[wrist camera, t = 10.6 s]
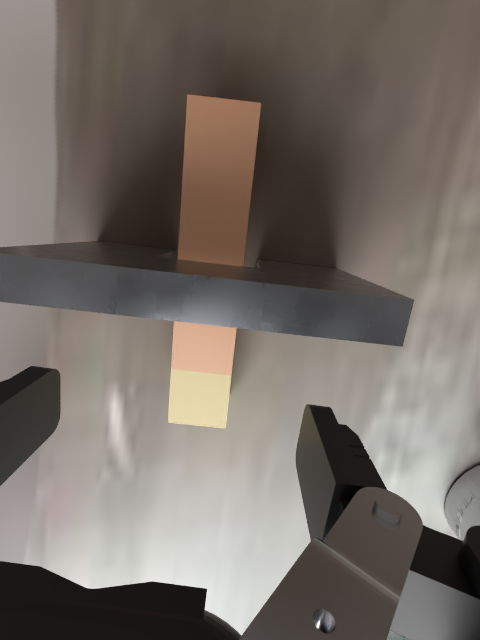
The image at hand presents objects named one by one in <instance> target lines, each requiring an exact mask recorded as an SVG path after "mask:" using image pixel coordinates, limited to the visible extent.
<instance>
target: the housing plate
mask: <svg viewBox="0 0 480 640" xmlns="http://www.w3.org/2000/svg"><path fill="white" fill-rule="evenodd" d="M0 302H8V303H17V304H26V305H36V306H44V307H53V308H62V309H71V310H80V311H89V312H98V313H107V314H116V315H125V316H134V317H142V318H151V319H160V320H169V321H178V322H187V323H196V324H205V325H214V326H223V327H232V328H241V329H250V330H259V331H268V332H277V333H286V334H295V335H304V336H313V337H322V338H331V339H340V340H349V341H358V342H367V343H376V344H385V345H393V346H402V347H403V343H404V338H405V334H406V330H407V326H408V322H409V318H410V314H411V310H412V306H413V302H414V300H413V299H411V298H408V297H406V296H403V295H401V294H398V293H396V292H394V291H391V290H389V289H386V288H384V287H381V286H379V285H376V284H374V283H371V282H369V281H367V280H364V279H362V278H359V277H357V276H354V275H352V274H349V273H347V272H344V271H342V270H339V269H337V268H329V267H321V266H312V265H303V264H294V263H285V262H277V261H268V260H259V259H257V265H256V268H251V267H243V266H234V265H225V264H216V263H207V262H199V261H190V260H181V259H177V250H171V249H162V248H153V247H145V246H136V245H127V244H118V243H109V242H101V241H91V242H75V243H60V244H44V245H28V246H13V247H0Z"/></svg>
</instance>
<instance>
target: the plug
mask: <svg viewBox="0 0 480 640" xmlns="http://www.w3.org/2000/svg"><path fill="white" fill-rule="evenodd" d="M260 110H261V103H258V102H249V101H241V100H232V99H223V98H215V97H206V96H197V95H189V94H187V109H186V126H185V143H184V160H183V177H182V194H181V211H180V228H179V245H178V259H181V260H190V261H199V262H207V263H216V264H225V265H234V266H243V265H244V256H245V247H246V238H247V228H248V219H249V210H250V201H251V192H252V183H253V174H254V165H255V156H256V146H257V137H258V128H259V119H260ZM236 329H237V328H232V327H223V326H214V325H205V324H196V323H187V322H178V321H174V329H173V346H172V363H171V380H170V397H169V414H168V422H169V423H178V424H188V425H197V426H207V427H216V428H225V429H226V420H227V411H228V402H229V393H230V383H231V374H232V365H233V356H234V347H235V338H236Z"/></svg>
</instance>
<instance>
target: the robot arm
mask: <svg viewBox="0 0 480 640" xmlns="http://www.w3.org/2000/svg"><path fill="white" fill-rule="evenodd" d="M59 419H60V373H59V371H58V370H56V369H50V368H43V367H36V366H31V367H29V368H27V369H25V370H24V371H22V372H20V373H19V374H17V375H15V376H13V377H12V378H10V379H8V380H5V381H2V382H0V486H1V485H2V484H3V483H4V482H5V481H6V480H7V479H8V478H9V477H10V476H11V475H12V474H13V473H14V472H15V470H17V468H19V467H20V466H21V465H22V464H23V462H25V461H26V460H27V459H28V457H30V456H31V455H32V454H33V453H34V451H36V450H37V449H38V448H39V447H40V446H41V445H42V444H43V443H44V442H45V441H46V440H47V439H48V438H49V437H50V436H51V435H52V433H53V432H54V431H55V429H56V427H57V425H58V422H59ZM296 468H297V473H298V478H299V483H300V488H301V493H302V498H303V503H304V508H305V513H306V518H307V523H308V528H309V533H310V538H311V542H310V543H309V544H308V546H307V547H306V548H305V550H304V551H303V553H302V554H301V555H300V557H299V558H298V559H297V561H296V562H295V564H294V565H293V566H292V568H291V569H290V570H289V572H288V573H287V574H286V576H285V577H284V579H283V580H282V581H281V583H280V584H279V585H278V587H277V588H276V590H275V591H274V592H273V594H272V595H271V596H270V598H269V599H268V600H267V602H266V603H265V605H264V606H263V607H262V609H261V610H260V611H259V613H258V614H257V615H256V617H255V618H254V620H253V621H252V622H251V624H250V625H249V626H248V628H247V629H246V631H245V632H244V633H243V635H242V636H241V635H240V634H239V633H238V632H237V631H236V630H235V629H234V628H232V627H231V626H230V625H229V624H228V623H227V622H225V621H223V620H222V619H220V618H219V617H217V616H216V615H214V614H212V613H210V612H208V611H206V610H204V609H205V601H206V592H207V589H204V588H196V587H189V586H181V585H174V584H166V583H159V582H146V583H138V584H131V585H123V586H115V587H107V588H99V589H88V588H85V587H82V586H80V585H78V584H76V583H74V582H72V581H70V580H68V579H65V578H63V577H61V576H59V575H57V574H55V573H53V572H51V571H48V570H46V569H44V568H42V567H40V566H32V565H25V564H17V563H10V562H1V561H0V640H386V639H387V636H388V633H389V630H391V631H393V632H395V633H397V634H399V635H401V636H403V637H405V638H407V639H409V640H480V465H478V466H476V467H474V468H472V469H471V470H469V471H468V472H466V473H465V474H464V475H462V476H461V477H460V478H459V479H458V480H457V481H456V482H455V484H454V485H453V486H452V488H451V489H450V491H449V493H448V496H447V498H446V503H445V516H446V519H447V522H448V524H449V525H450V527H451V528H452V530H453V531H454V533H455V534H456V536H457V537H458V538H459V539H456V538H454V537H451V536H448V535H446V534H443V533H440V532H438V531H435V530H433V529H430V528H428V527H426V526H424V525H423V523H422V520H421V518H420V516H419V514H418V513H417V511H416V510H415V509H414V508H413V507H412V506H411V505H410V504H409V503H408V502H407V501H406V500H404V499H403V498H401V497H400V496H398V495H397V494H395V493H393V492H390V491H388V490H387V489H386V487H385V485H384V483H383V481H382V479H381V478H380V476H379V474H378V472H377V470H376V468H375V466H374V465H373V463H372V461H371V459H369V455H368V453H367V452H366V450H365V449H364V446H363V444H362V442H361V440H360V439H359V437H358V435H357V434H356V433H354V432H353V431H352V430H351V429H350V428H349V427H348V426H347V425H341V424H338V422H337V420H336V417H335V415H334V413H333V411H332V409H331V408H330V407H324V406H317V405H309V404H307V405H306V407H305V410H304V414H303V419H302V424H301V429H300V434H299V439H298V444H297V449H296Z"/></svg>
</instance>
